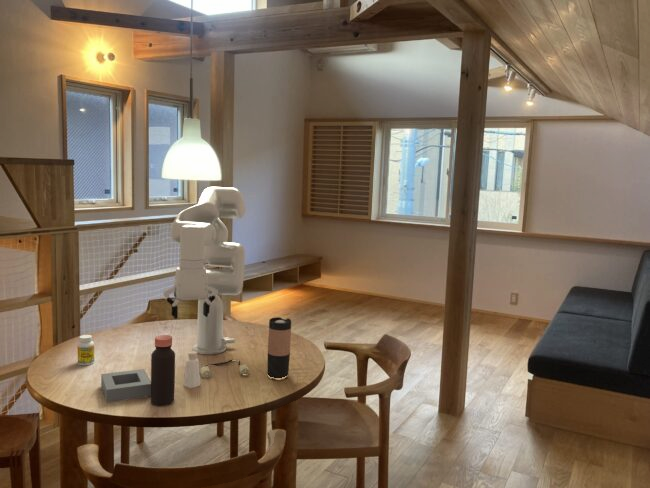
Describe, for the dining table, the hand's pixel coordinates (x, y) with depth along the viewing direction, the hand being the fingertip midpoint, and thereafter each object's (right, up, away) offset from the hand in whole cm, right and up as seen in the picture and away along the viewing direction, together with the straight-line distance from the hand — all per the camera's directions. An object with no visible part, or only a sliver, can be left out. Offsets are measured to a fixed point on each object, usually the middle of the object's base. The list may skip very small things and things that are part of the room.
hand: (190, 316), depth 176 cm
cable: (+7, -22, +17) cm, 28 cm away
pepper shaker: (0, -23, +3) cm, 23 cm away
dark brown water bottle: (-6, -24, -10) cm, 27 cm away
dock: (-19, -23, -5) cm, 30 cm away
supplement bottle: (-41, -18, +16) cm, 47 cm away
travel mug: (+27, -23, +14) cm, 38 cm away
